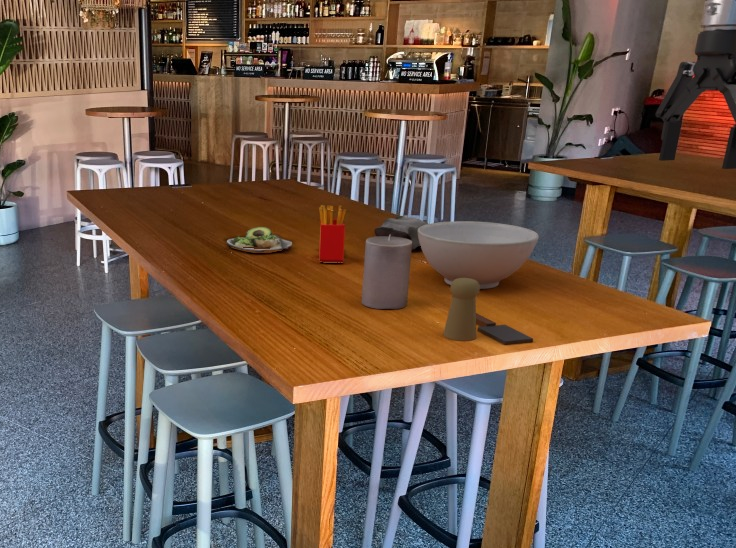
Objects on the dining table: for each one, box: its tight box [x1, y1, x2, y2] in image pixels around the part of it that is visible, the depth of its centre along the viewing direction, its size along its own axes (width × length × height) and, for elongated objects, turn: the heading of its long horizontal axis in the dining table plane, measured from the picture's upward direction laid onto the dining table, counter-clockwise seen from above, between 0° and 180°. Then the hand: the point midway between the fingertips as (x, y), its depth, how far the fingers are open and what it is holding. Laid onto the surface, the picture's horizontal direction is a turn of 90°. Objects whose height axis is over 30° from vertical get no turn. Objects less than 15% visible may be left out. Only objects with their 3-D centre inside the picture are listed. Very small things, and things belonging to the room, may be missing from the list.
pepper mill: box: [443, 278, 481, 342], centre depth 148 cm, size 6×6×11 cm
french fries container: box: [318, 204, 348, 263], centre depth 207 cm, size 7×9×14 cm
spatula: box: [476, 312, 534, 346], centre depth 154 cm, size 18×6×1 cm, turn 15°
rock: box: [373, 215, 429, 251], centre depth 224 cm, size 18×11×8 cm, turn 18°
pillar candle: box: [361, 234, 413, 310], centre depth 168 cm, size 10×10×15 cm
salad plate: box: [226, 226, 293, 252], centre depth 223 cm, size 19×18×5 cm
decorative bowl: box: [418, 220, 540, 290], centre depth 185 cm, size 27×27×12 cm
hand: (696, 164), depth 136 cm, fingers open, 13 cm apart
